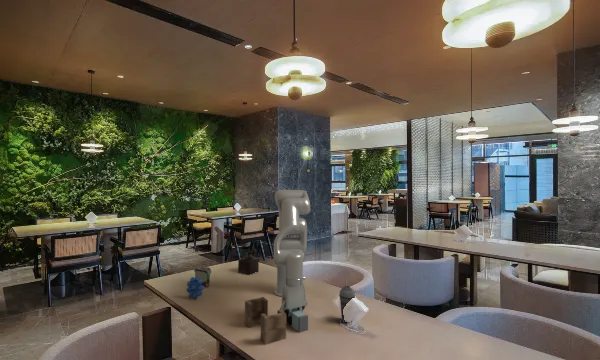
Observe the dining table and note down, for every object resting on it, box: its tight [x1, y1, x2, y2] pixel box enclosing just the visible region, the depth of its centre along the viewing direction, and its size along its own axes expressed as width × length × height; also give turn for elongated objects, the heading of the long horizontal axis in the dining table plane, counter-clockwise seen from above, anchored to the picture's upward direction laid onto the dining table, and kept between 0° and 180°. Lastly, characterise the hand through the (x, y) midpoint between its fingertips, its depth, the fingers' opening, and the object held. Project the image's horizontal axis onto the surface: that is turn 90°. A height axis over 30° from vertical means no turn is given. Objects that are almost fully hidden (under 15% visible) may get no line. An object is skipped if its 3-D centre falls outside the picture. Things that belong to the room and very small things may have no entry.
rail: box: [284, 307, 309, 333], centre depth 139 cm, size 4×16×6 cm, turn 32°
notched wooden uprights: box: [244, 296, 287, 345], centre depth 132 cm, size 9×21×10 cm, turn 32°
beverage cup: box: [338, 275, 356, 323], centre depth 142 cm, size 7×7×20 cm
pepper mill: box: [237, 248, 260, 276], centre depth 217 cm, size 16×11×18 cm
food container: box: [193, 266, 212, 288], centre depth 191 cm, size 12×6×10 cm, turn 58°
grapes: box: [186, 276, 205, 300], centre depth 169 cm, size 12×7×12 cm, turn 63°
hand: (293, 322), depth 139 cm, fingers closed on rail, 4 cm apart
